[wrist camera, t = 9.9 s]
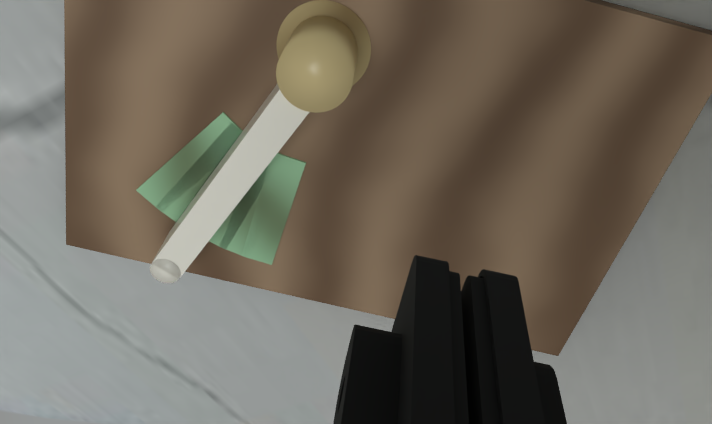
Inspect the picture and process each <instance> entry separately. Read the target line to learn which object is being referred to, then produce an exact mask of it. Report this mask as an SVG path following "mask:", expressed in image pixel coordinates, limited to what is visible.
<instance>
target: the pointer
mask: <svg viewBox="0 0 712 424" xmlns="http://www.w3.org/2000/svg"><path fill="white" fill-rule="evenodd" d="M357 55H358V49H357V43H356V40H355V37H354V35H353V33H352V32H351V30H350V29H349V28H348V27H347V26H346V25H345V24H344V23H342V22H341V21H339V20H337V19H335V18H332V17H328V16H315V17H311V18H308V19H306V20H304V21H303V22H301V23H300V24H299V25H298V26H297V27H296V28H295V29H294V31H293V33H292V34H291V36H290V38H289V40H288V42H287V44H286V46H285V48H284V50H283V52H282V54H281V56H280V58H279V60H278V63H277V68H276V79H277V85H276V86H275V87H274V89H273V90H272V92H271V93H270V94H269V96H268V97H267V98H266V100H265V101H264V102H263V104H262V105H261V107H260V108H259V109H258V111H257V112H256V113H255V115H254V116H253V118H252V119H251V120H250V122H249V123H248V124H247V126H246V127H245V129H244V130H243V131H242V133H241V134H240V135H239V137H238V138H237V140H236V141H235V142H234V144H233V145H232V146H231V148H230V149H229V151H228V152H227V153H226V155H225V156H224V157H223V159H222V160H221V162H220V163H219V164H218V166H217V167H216V168H215V170H214V171H213V172H212V174H211V175H210V177H209V178H208V179H207V181H206V182H205V183H204V185H203V186H202V188H201V189H200V190H199V192H198V193H197V194H196V196H195V197H194V199H193V200H192V201H191V203H190V204H189V205H188V207H187V208H186V210H185V211H184V212H183V214H182V215H181V216H180V218H179V219H178V221H177V222H176V223H175V225H174V226H173V227H172V229H171V230H170V232H169V233H168V235H167V237H166V239H165V240H164V242H163V244H162V246H161V248H160V249H159V251H158V253H157V255H156V256H155V258H154V260H153V262H152V264H151V266H150V272H151V274H152V276H153V277H154V278H155V279H156V280H158V281H160V282H162V283H167V284H170V283H174V282H176V281H178V280H179V279H180V277H181V276H182V275H183V273H184V272H185V271H186V270H187V268H188V267H189V266H190V264H191V263H192V262H193V261H194V259H195V258H196V257H197V255H198V254H199V253H200V252H201V250H202V249H203V248H204V247H205V245H206V244H207V243H208V241H209V240H210V239H211V238H212V236H213V235H214V234H215V232H216V231H217V230H218V229H219V227H220V226H221V225H222V223H223V222H224V221H225V220H226V218H227V217H228V216H229V215H230V213H231V212H232V211H233V209H234V208H235V207H236V206H237V204H238V203H239V202H240V200H241V199H242V198H243V197H244V195H245V194H246V193H247V191H248V190H249V189H250V188H251V186H252V185H253V184H254V183H255V181H256V180H257V179H258V177H259V176H260V175H261V174H262V172H263V171H264V170H265V168H266V167H267V166H268V165H269V163H270V162H271V161H272V159H273V158H274V157H275V156H276V154H277V153H278V152H279V151H280V149H281V148H282V147H283V145H284V144H285V143H286V142H287V140H288V139H289V138H290V136H291V135H292V134H293V133H294V131H295V130H296V129H297V127H298V126H299V125H300V124H301V122H302V121H303V120H304V118H305V117H306V116H307V115H308V113H309V112H314V113H319V112H326V111H329V110H332V109H334V108H336V107H337V106H339V105H340V104H341V103H342V102H343V101H344V100H345V99H346V98H347V96H348V95H349V93H350V91H351V88H352V83H353V78H354V72H355V67H356V61H357Z"/></svg>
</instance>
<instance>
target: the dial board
mask: <svg viewBox="0 0 712 424" xmlns="http://www.w3.org/2000/svg"><path fill="white" fill-rule="evenodd" d="M64 9H65V144H66V245H71V246H75V247H80V248H84V249H89V250H93V251H97V252H102V253H106V254H111V255H115V256H119V257H124V258H128V259H133V260H137V261H141V262H146V263H150V264H152V262H153V260H154V258H155V256H156V255H157V253H158V251H159V249H160V248H161V246H162V244H163V242H164V240H165V239H166V237H167V235H168V233H169V232H170V230H171V229H172V227H173V226H174V225H175V223H176V222H177V221H178V219H179V218H180V216H181V215H182V214H183V212H184V211H185V210H186V208H187V207H188V205H189V204H190V203H191V201H192V200H193V199H194V197H195V196H196V194H197V193H198V192H199V190H200V189H201V188H202V186H203V185H204V183H205V182H206V181H207V179H208V178H209V177H210V175H211V174H212V172H213V171H214V170H215V168H216V167H217V166H218V164H219V163H220V162H221V160H222V159H223V157H224V156H225V155H226V153H227V152H228V151H229V149H230V148H231V146H232V145H233V144H234V142H235V141H236V140H237V138H238V137H239V135H240V134H241V133H242V131H243V130H244V129H245V127H246V126H247V124H248V123H249V122H250V120H251V119H252V118H253V116H254V115H255V113H256V112H257V111H258V109H259V108H260V107H261V105H262V104H263V102H264V101H265V100H266V98H267V97H268V96H269V94H270V93H271V92H272V90H273V89H274V87H275V86H276V85H277V79H276V68H277V63H278V60H279V58H280V56H281V54H282V52H283V50H284V48H285V46H286V44H287V42H288V40H289V38H290V36H291V34H292V33H293V31H294V29H295V28H296V27H297V26H298V25H299V24H300V23H301V22H303V21H304V20H306V19H308V18H311V17H315V16H328V17H332V18H335V19H337V20H339V21H341V22H342V23H344V24H345V25H346V26H347V27H348V28H349V29H350V30H351V32H352V33H353V35H354V37H355V40H356V43H357V49H358V55H357V61H356V67H355V72H354V78H353V83H352V88H351V91H350V93H349V95H348V96H347V98H346V99H345V100H344V101H343V102H342V103H341V104H340V105H339V106H337V107H336V108H334V109H332V110H329V111H326V112H319V113H314V112H309V113H308V115H307V116H306V117H305V118H304V120H303V121H302V122H301V124H300V125H299V126H298V127H297V129H296V130H295V131H294V133H293V134H292V135H291V136H290V138H289V139H288V140H287V142H286V143H285V144H284V145H283V147H282V148H281V149H280V151H279V152H278V153H277V154H276V156H275V157H274V158H273V159H272V161H271V162H270V163H269V165H268V166H267V167H266V168H265V170H264V171H263V172H262V174H261V175H260V176H259V177H258V179H257V180H256V181H255V183H254V184H253V185H252V186H251V188H250V189H249V190H248V191H247V193H246V194H245V195H244V197H243V198H242V199H241V200H240V202H239V203H238V204H237V206H236V207H235V208H234V209H233V211H232V212H231V213H230V215H229V216H228V217H227V218H226V220H225V221H224V222H223V223H222V225H221V226H220V227H219V229H218V230H217V231H216V232H215V234H214V235H213V236H212V238H211V239H210V240H209V241H208V243H207V244H206V245H205V247H204V248H203V249H202V250H201V252H200V253H199V254H198V255H197V257H196V258H195V259H194V261H193V262H192V263H191V264H190V266H189V267H188V268H187V270H186V272H190V273H194V274H199V275H203V276H208V277H212V278H217V279H221V280H225V281H230V282H234V283H239V284H243V285H247V286H252V287H256V288H261V289H265V290H269V291H274V292H278V293H283V294H287V295H292V296H296V297H300V298H305V299H309V300H314V301H318V302H322V303H327V304H331V305H336V306H340V307H344V308H349V309H353V310H358V311H362V312H367V313H371V314H375V315H380V316H384V317H389V318H393V319H395V318H396V315H397V311H398V308H399V305H400V301H401V298H402V294H403V291H404V287H405V284H406V281H407V277H408V274H409V270H410V267H411V264H412V261H413V258H414V256H415V255H418V256H423V257H428V258H433V259H437V260H442V261H447V262H448V263H449V271H452V272H456V273H459V274H460V284H461V290H462V287H463V285H464V282H465V280H466V278H467V276H468V275H471V276H475V277H478V275H479V273H480V271H481V270H483V269H485V270H490V271H495V272H499V273H504V274H509V275H514V276H516V277H517V278H518V281H519V286H520V291H521V297H522V302H523V307H524V313H525V318H526V323H527V329H528V334H529V340H530V345H531V350H534V351H539V352H543V353H547V354H552V355H556V356H558V355H559V353H560V352H561V350H562V348H563V347H564V345H565V343H566V341H567V340H568V338H569V336H570V335H571V333H572V331H573V329H574V328H575V326H576V324H577V323H578V321H579V319H580V317H581V316H582V314H583V312H584V311H585V309H586V307H587V306H588V304H589V302H590V300H591V299H592V297H593V295H594V294H595V292H596V290H597V288H598V287H599V285H600V283H601V282H602V280H603V278H604V276H605V275H606V273H607V271H608V270H609V268H610V266H611V264H612V263H613V261H614V259H615V258H616V256H617V254H618V253H619V251H620V249H621V247H622V246H623V244H624V242H625V241H626V239H627V237H628V235H629V234H630V232H631V230H632V229H633V227H634V225H635V223H636V222H637V220H638V218H639V217H640V215H641V213H642V211H643V210H644V208H645V206H646V205H647V203H648V201H649V200H650V198H651V196H652V194H653V193H654V191H655V189H656V188H657V186H658V184H659V182H660V181H661V179H662V177H663V176H664V174H665V172H666V170H667V169H668V167H669V165H670V164H671V162H672V160H673V158H674V157H675V155H676V153H677V152H678V150H679V148H680V146H681V145H682V143H683V141H684V140H685V138H686V136H687V135H688V133H689V131H690V129H691V128H692V126H693V124H694V123H695V121H696V119H697V117H698V116H699V114H700V112H701V111H702V109H703V107H704V105H705V104H706V102H707V100H708V99H709V97H710V95H711V93H712V31H711V30H707V29H704V28H700V27H696V26H693V25H689V24H685V23H682V22H678V21H674V20H671V19H667V18H664V17H660V16H656V15H653V14H649V13H645V12H642V11H638V10H634V9H631V8H627V7H624V6H620V5H616V4H613V3H609V2H605V1H602V0H64Z"/></svg>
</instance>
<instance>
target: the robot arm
mask: <svg viewBox="0 0 712 424" xmlns="http://www.w3.org/2000/svg"><path fill="white" fill-rule="evenodd" d="M334 424H567V422H566V418H565V413H564V409H563V404H562V400H561V395H560V391H559V386H558V382H557V377H556V375H555V372H554V369H553V368H552V367H551V366H550V365H547V364H542V363H537V362H534V361H533V356H532V350H531V345H530V340H529V334H528V329H527V323H526V318H525V313H524V307H523V302H522V297H521V291H520V286H519V281H518V278H517V277H516V276H514V275H509V274H504V273H499V272H495V271H490V270H485V269H483V270H481V271H480V273H479V275H478V277H475V276H471V275H468V276H467V278H466V280H465V282H464V285H463V287H462V290H461V284H460V274H459V273H456V272H452V271H449V263H448V262H447V261H442V260H437V259H433V258H428V257H423V256H418V255H415V256H414V258H413V261H412V264H411V267H410V270H409V274H408V277H407V281H406V284H405V287H404V291H403V294H402V298H401V301H400V305H399V308H398V311H397V315H396V318H395V322H394V325H393V329H392V332H388V331H383V330H378V329H374V328H369V327H364V326H359V325H354V328H353V332H352V335H351V339H350V343H349V348H348V352H347V356H346V360H345V364H344V369H343V374H342V379H341V384H340V389H339V394H338V399H337V405H336V411H335V417H334Z"/></svg>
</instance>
